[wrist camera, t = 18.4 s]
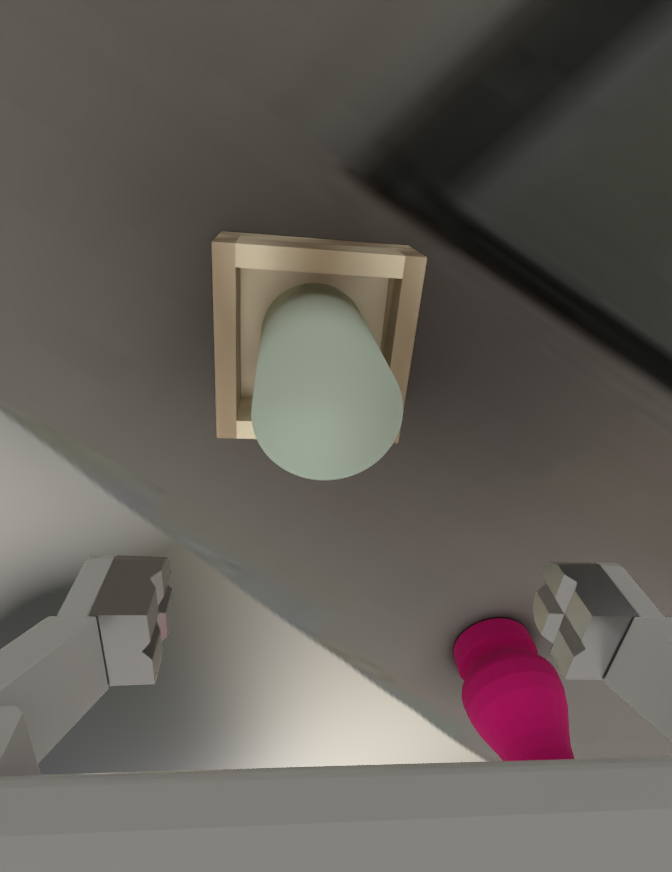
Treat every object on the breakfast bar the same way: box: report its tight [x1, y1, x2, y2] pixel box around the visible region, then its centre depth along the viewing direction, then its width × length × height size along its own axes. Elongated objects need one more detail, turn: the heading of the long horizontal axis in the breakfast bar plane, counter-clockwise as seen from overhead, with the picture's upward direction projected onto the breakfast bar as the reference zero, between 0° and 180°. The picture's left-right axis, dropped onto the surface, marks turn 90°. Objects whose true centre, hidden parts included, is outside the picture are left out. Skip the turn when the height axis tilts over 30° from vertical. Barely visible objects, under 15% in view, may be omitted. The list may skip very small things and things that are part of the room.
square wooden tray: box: [212, 231, 427, 443], centre depth 27 cm, size 10×10×4 cm
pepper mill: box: [453, 618, 574, 761], centre depth 33 cm, size 7×7×20 cm
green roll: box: [251, 283, 403, 480], centre depth 23 cm, size 6×6×10 cm
